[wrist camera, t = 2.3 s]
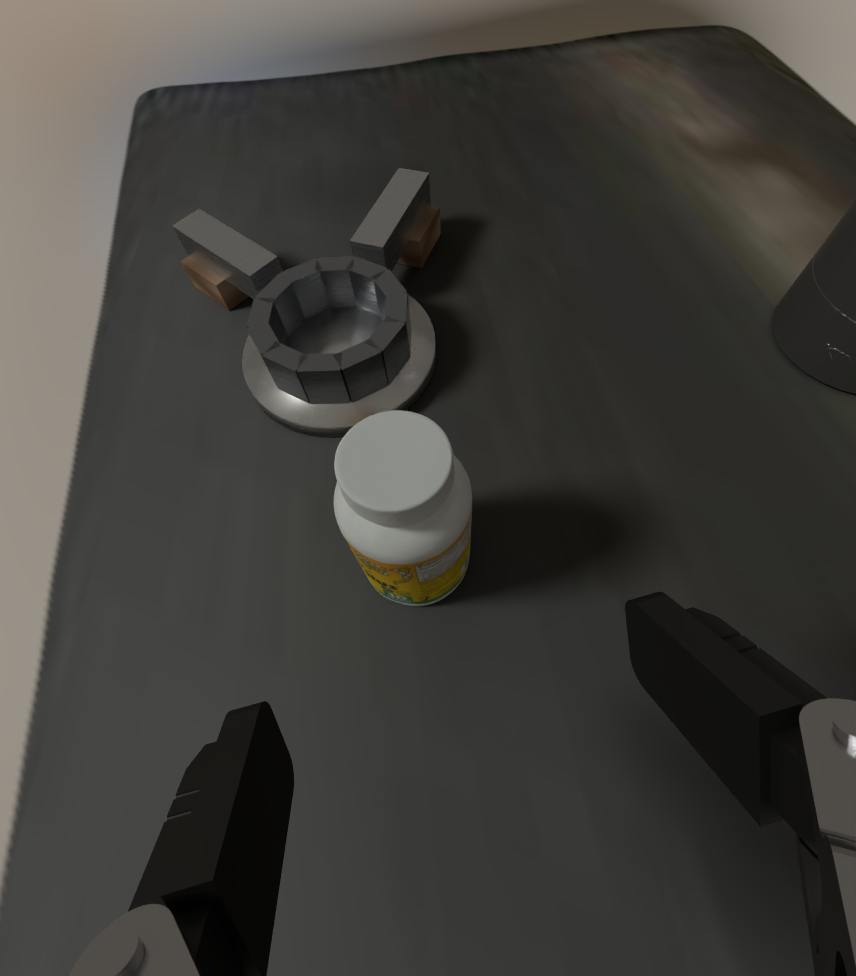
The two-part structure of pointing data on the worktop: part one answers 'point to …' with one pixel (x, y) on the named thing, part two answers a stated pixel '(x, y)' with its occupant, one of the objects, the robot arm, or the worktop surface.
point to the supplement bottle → (404, 506)
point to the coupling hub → (336, 346)
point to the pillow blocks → (232, 296)
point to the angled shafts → (258, 267)
